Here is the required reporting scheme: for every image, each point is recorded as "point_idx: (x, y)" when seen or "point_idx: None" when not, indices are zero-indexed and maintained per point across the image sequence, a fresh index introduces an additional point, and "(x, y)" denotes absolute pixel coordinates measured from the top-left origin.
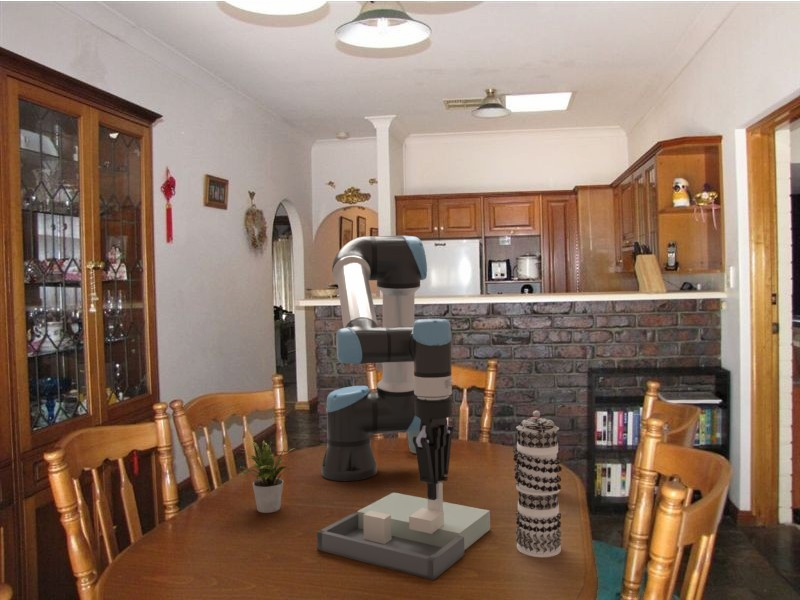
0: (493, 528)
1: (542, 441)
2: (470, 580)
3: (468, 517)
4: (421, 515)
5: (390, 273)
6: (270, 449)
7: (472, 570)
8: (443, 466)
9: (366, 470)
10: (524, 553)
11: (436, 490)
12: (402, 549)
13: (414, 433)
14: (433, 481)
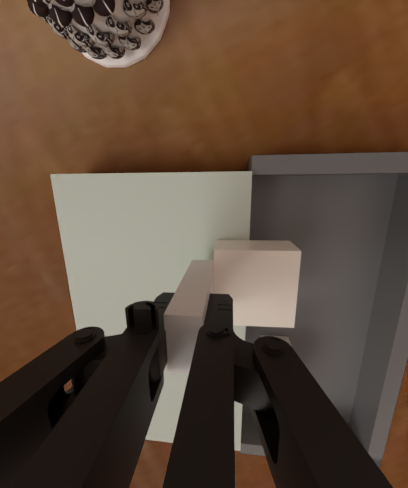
0: (74, 172)
1: None
2: (380, 73)
3: (130, 204)
4: (271, 298)
5: None
6: None
7: (321, 98)
8: (103, 376)
9: None
10: (167, 17)
11: (206, 310)
12: (298, 292)
13: None
14: (259, 339)
